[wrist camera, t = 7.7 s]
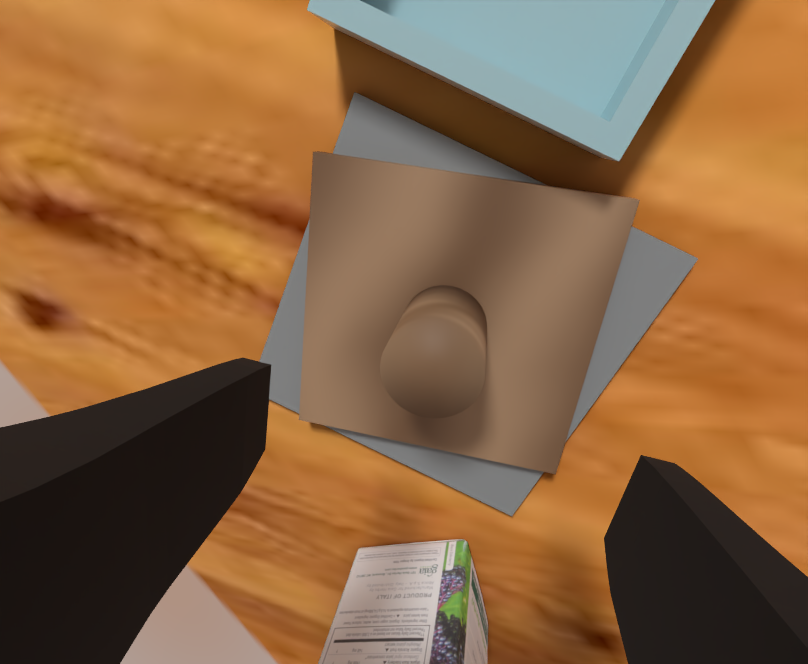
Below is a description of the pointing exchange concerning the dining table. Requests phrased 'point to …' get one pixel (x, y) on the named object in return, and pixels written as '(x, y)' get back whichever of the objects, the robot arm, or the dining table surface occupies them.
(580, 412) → the mat
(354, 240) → the lid
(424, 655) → the syrup box
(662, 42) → the dish
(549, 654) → the dining table surface
